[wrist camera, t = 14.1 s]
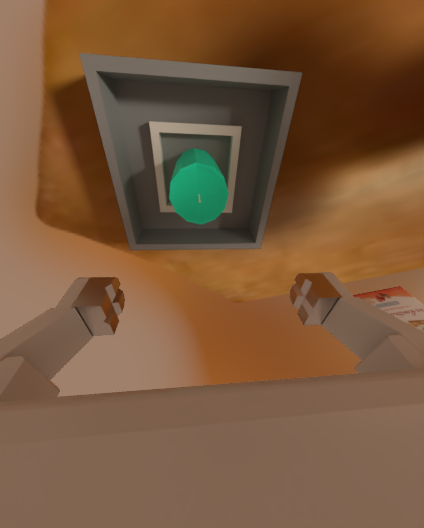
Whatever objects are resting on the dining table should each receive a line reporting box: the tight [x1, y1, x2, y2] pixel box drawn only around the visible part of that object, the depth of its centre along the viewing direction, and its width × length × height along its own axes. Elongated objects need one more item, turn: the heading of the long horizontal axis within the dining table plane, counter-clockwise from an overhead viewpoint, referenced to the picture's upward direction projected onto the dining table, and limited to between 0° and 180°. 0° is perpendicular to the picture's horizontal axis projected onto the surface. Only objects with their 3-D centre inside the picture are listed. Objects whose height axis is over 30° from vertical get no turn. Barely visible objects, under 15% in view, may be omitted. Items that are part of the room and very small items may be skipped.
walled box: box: [79, 53, 303, 250], centre depth 26 cm, size 20×20×6 cm
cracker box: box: [353, 286, 424, 332], centre depth 43 cm, size 14×6×21 cm, turn 101°
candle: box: [169, 148, 229, 225], centre depth 23 cm, size 6×6×12 cm
